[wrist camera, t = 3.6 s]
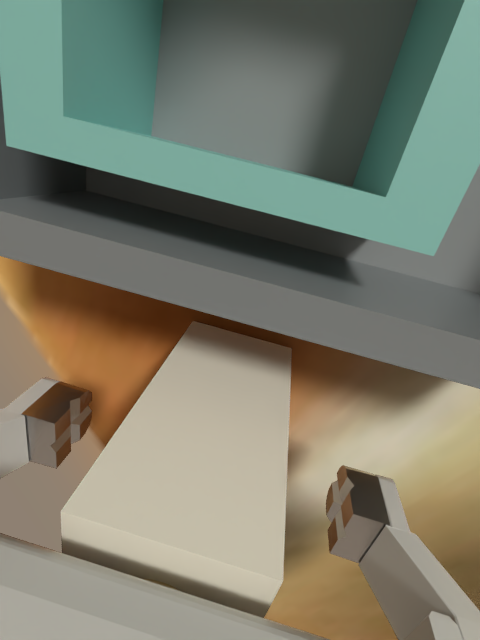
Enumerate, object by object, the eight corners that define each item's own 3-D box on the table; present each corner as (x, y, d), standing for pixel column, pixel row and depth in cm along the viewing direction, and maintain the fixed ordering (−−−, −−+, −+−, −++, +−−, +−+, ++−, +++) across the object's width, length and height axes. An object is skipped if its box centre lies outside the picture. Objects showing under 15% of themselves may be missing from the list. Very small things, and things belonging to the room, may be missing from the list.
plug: (291, 348, 13) (280, 661, 5) (265, 423, 14) (224, 746, 6) (193, 320, 13) (16, 575, 5) (179, 398, 15) (32, 681, 7)
